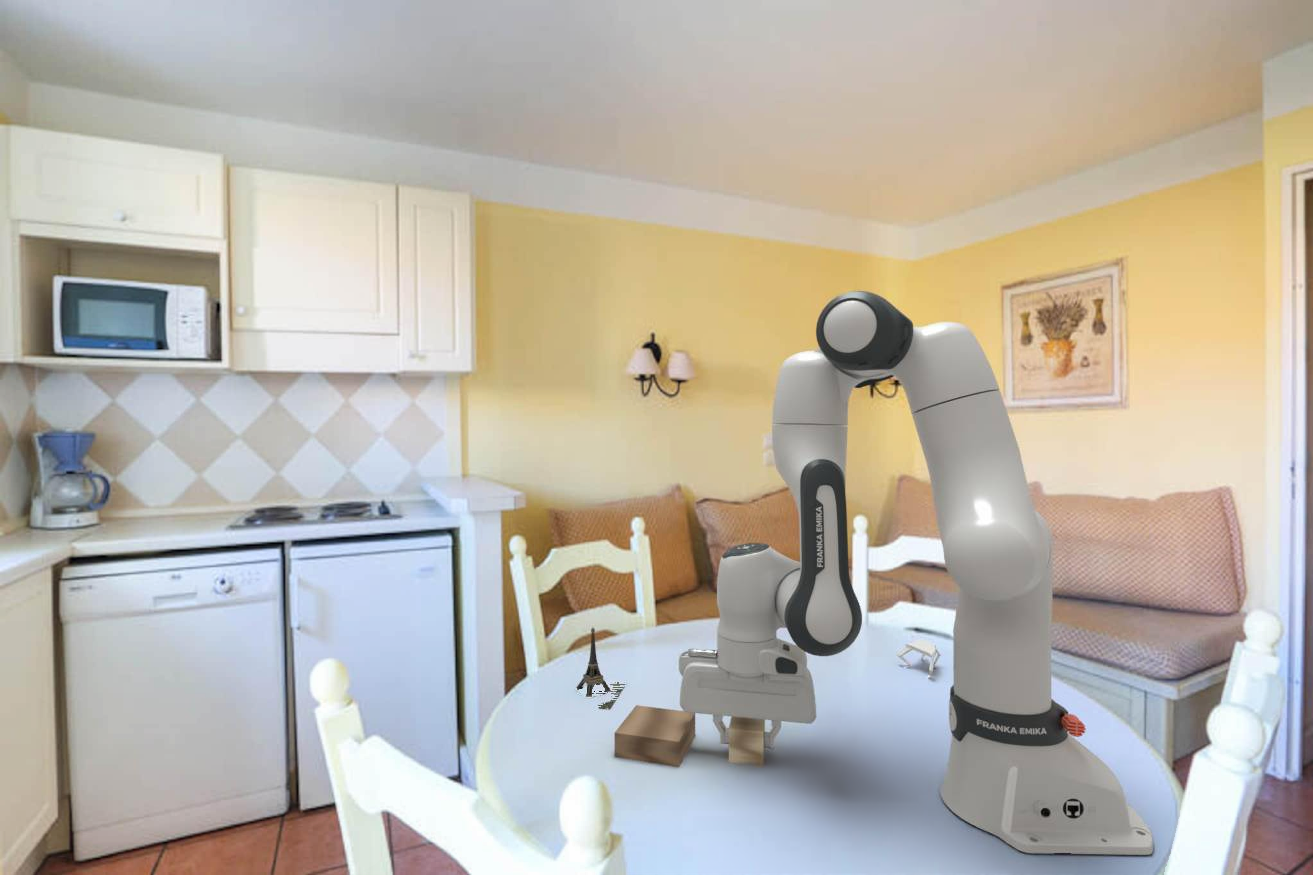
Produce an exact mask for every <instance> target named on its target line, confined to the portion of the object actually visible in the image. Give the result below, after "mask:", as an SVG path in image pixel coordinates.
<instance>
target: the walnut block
mask: <svg viewBox="0 0 1313 875" xmlns="http://www.w3.org/2000/svg"><path fill="white" fill-rule="evenodd" d="M695 737H696V713H689V712H685V711H684V710H677V709H670V708H661V707H654V706H646V705H639V704H638V705H637V704H636V705H635V706H634V707H633V709H632V710H631V711H630V713H629V714H628V715H627V716H626V717H625V719H624V720H623V721H622V722H621V724H620V725H619V726H618V728H617V729H616V731H615V732H614V758H619V759H626V760H629V761H630V760H632V761H638V762H643V763H644V762H646V763H650V764H651V763H652V764H655V765H656V764H657V765H662V766H669V767H676V768H680V767H681V764H682V763H683V761H684V758H685V756H686V755H687V753H688V751H689V748H690V747H691V745H692V743H693V741H694V739H695Z"/></svg>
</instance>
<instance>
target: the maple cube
mask: <svg viewBox="0 0 1313 875" xmlns="http://www.w3.org/2000/svg"><path fill="white" fill-rule="evenodd" d="M728 728H729V744H728V763H731V764H740V765H741V764H742V765H749V766H750V765H751V766H758V767H764V766H765V765H764V763H765V752H766V748H764V732H766V720H764V719H753V718H742V717H732V716H730V722H729V725H728Z"/></svg>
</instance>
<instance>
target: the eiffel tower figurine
mask: <svg viewBox="0 0 1313 875" xmlns="http://www.w3.org/2000/svg"><path fill="white" fill-rule="evenodd" d="M595 631H596V628H594V627H592V628H591V629H590V632H591V637H590V638H591V639H590V650H589V651H590V652H589V661H588V662H587V664H588V665H587V668H586V672H585V673H584V674H583V675H582V677H583V678H581V680H580V681H579V683H578V685H577V686H576V687H575V688H577V690H579V689H582V687H584V685H585V684H586V686H587V694H586V697H592V694H594V693H592V689H593V687H594V685H595V684H596V685H600V684H602V685H603V687H604V688H605V691H604V692H607V693H608V692H616V693H611V694H614V695H618V696H615V697H618V698H619V697H620V695H621V693H622V691H623V690H624V689H625V687H613V688H624V689H612V690H617V691H611V690H610V688H609V687H608V685H607V684H606V682H605V680H604V675H603V674H601V671H600V666H599V662H598V660H597V648H596V639H595ZM615 683H616V682H615ZM610 685H613V686H620V685H625V684H619V682H617V684H610ZM594 692H595V691H594ZM599 692H602V691H599ZM596 694H603V695H606V693H596ZM586 697H585V698H586ZM592 698H593V697H592ZM618 698H612V699H617V700H618ZM612 699H611V700H609V701H610V702H609V701H606V702H603V703H601V704H603V705H599V704H597V705H598V710H610V709H611V708H612V706H613V705H614V704H615V702H616V701H617V700H612ZM604 703H605V704H604ZM599 706H601V707H599Z"/></svg>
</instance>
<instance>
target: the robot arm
mask: <svg viewBox="0 0 1313 875" xmlns="http://www.w3.org/2000/svg"><path fill="white" fill-rule="evenodd" d="M815 337H816V343H817V345H818V347H819V348H817V349H814V350H807V351H806V350H805V351H800V352H798V353H795V354H792V355H791V356H789V357H787V358H786V359H785V360H784V361H783V362H782V364H781V366H780V369H779V371H778V372H779V373H778V376H777V380H776V386H775V391H774V399H773V408H772V419H771V420H772V421H771V422H772V423H771V424H772V425H771V442H772V443H771V444H772V451H773V459H774V464H775V468H776V471H777V472H778V474H779V475H780V476H781V478H782V479H783V481H784V482H785V484H786V486H787V487H788V489H789V491H790V493H791V496H793V500H794V502H795V505H796V509H797V513H798V519H799V520H798V522H799V524H798V525H799V526H798V527H799V529H798V530H799V532H798V533H799V561H798V560H795V559H793V558H790V557H788V556H786V555H783V554H782V553H780V552H779V551H777V550H775V549H774V548H773V547H772V546H770V544H768V543H763V542H748V543H742V544H739V545H735V546H732V547H730V548H728V549H726V551H725V552H724V553H723V554H722V555H721V557H720V560H719V564H718V571H717V583H716V584H717V585H716V605H717V609H718V613H719V622H718V625H717V629H716V631H717V633H716V641H717V642H716V643H717V646H716V648H717V649H697V648H689V649H687V650H686V651H684V652H682V653H681V654H680V655H679V658H678V671H679V675H681V684H680V691H679V692H680V693H679V706H680V708H681V709H682V711H685V712H689V713H695V714H699V715H701V714H703V715H709V716H710V715H712V722H713V724H714V726H715V727H716V729H717V732H718V733H720V734H719V735H720V738H719V740H720V742H719V743H720V744H721V745H729V727H727V726H726V725H725V723H724V721H723V718H724V717H731V716H732V717H742V718H753V719H764V720H765V721H766V720H767V721H771V727H772V728H771V729H770V731H765V732H764V748H765V749H770V750H774V748H775V738H776V737H777V735H778V733H779V732H780V730H781V728H782V722H787V723H796V724H797V723H798V724H799V723H800V724H807V725H808V724H809V725H810V724H812V723H813V722H815V720H816V718H817V704H816V703H817V702H816V693H815V685H814V682H813V677H812V673H811V671H810V669H809V668H808V657H807V654H809V655H812V656H817V657H832V656H834V655H838V654H840V653H842V652H843V651H845V650H847V649H848V648H849V647H851V645H852V644H854V642H855V641H856V640H857V637H858V636H859V635H860V632H861V629H862V624H863V612H862V608H861V605H860V602H859V600H858V597H857V596H856V595H857V594H856V593H855V591H854V588H853V585H852V582H851V579H850V578H851V577H850V570H849V568H850V566H849V544H848V542H849V540H848V513H847V511H848V510H847V496H846V489H847V488H846V485H847V484H846V483H847V479H846V478H847V477H846V476H847V474H846V473H847V472H846V471H847V470H846V468H847V467H846V466H847V451H848V449H847V448H848V426H849V424H848V423H849V422H848V421H849V420H848V418H849V413H848V412H849V401H850V397H851V395H852V394H851V393H852V391H853V390H854V389H860V388H861V389H862V388H864V387H868V386H870V385H873V384H877V383H880V382H885V381H887V380H889V379H891V378H896V380H898V382H899V383H900V385H901V387H902V389H903V391H904V392H905V396H906V400H907V402H908V405H909V410H910V412H911V416H912V419H913V422H914V426H915V429H916V432H917V435H918V440H919V442H920V445H921V449H922V452H923V455H924V459H925V462H926V466H927V471H928V474H929V480H930V486H931V492H932V498H933V504H934V505H933V506H934V510H935V515H936V520H937V526H938V531H939V536H940V540H941V544H942V549H943V558H944V559H943V560H944V564H945V568H946V570H947V572H948V574H949V576H950V578H951V579H952V580H953V582H954V583H955V585H957V586H958V589H957V600H956V606H955V608H956V609H955V616H954V622H953V629H952V633H953V636H952V637H953V639H952V640H953V642H952V643H953V646H952V648H953V649H952V650H953V652H952V653H953V654H952V655H953V662H952V663H953V684H952V686H951V687H950V689H949V700H948V725H949V729H950V732H951V742H950V747H949V748H950V750H949V757H948V762H947V767H946V771H945V773H944V774H945V775H944V777H943V778H944V779H943V781H942V783H941V785H940V786H941V787H940V789H939V790H940V797H941V799H942V800H943V802H944V804H945V806H947V808H948V809H949V810H951V811H952V813H954V814H955V815H956V816H958V817H959V818H961V819H962V820H964V821H966V822H967V823H969V824H971V825H972V826H975V827H976V828H979V829H981V830H983V831H985V832H988V833H990V834H992V835H994V836H996V837H998V838H1000V839H1001V840H1003V841H1004V842H1006V843H1007V844H1008V845H1010V846H1012V847H1013V848H1014V849H1016V850H1018V851H1019V852H1020V851H1021V852H1023V853H1027V854H1054V853H1071V854H1070V855H1076V854H1077V855H1128V856H1129V855H1131V856H1132V855H1133V856H1134V855H1135V856H1136V855H1138V856H1142V855H1143V856H1144V855H1145V856H1146V855H1147V856H1149V855H1151V854H1153V851H1154V840H1153V835H1152V833H1151V831H1150V828H1149V827H1148V825H1147V824H1146V822H1145V821H1144V819H1143V818H1142V817H1141V816H1140V814H1138V812H1137V811H1136V810H1135V809H1134V808H1133V807H1132V806H1131V805H1129V803H1127V800H1126V796H1125V792H1124V789H1123V787H1122V785H1121V782H1120V781H1119V779H1118V777H1117V776H1116V774H1115V773H1114V772H1113V771H1112V769H1111V768H1110V767H1109V766H1108V765H1107V764H1106V763H1105V762H1104V761H1103V760H1102V759H1101V758H1100V757H1099V756H1097V755H1096V754H1095V753H1094V752H1092V751H1091V750H1090V749H1088V748H1087V747H1086V746H1085V745H1084V744H1083V743H1081V742H1080V741H1079V740H1077V739H1076V738H1077V737H1078V738H1079V737H1082V736H1083V734H1085V733H1086V730H1087V729H1086V725H1085V724H1084V723H1083V721H1081V720H1080V719H1079V718H1078V717H1077V716H1076V715H1075V714H1071V713H1069V711H1068V710H1067V709H1066V708H1065V707H1064V706H1063V705H1061V704H1059V703H1057V702H1056V701H1055V700H1053V698H1052V630H1053V629H1052V628H1053V627H1052V626H1053V625H1052V624H1053V623H1052V622H1053V588H1054V587H1053V585H1054V584H1053V582H1054V580H1053V579H1054V538H1053V534H1052V530H1051V527H1050V525H1049V523H1048V522H1047V521H1046V519H1045V518H1044V517H1043V516H1042V514H1040V513H1039V512H1038V511H1037V510H1036V509H1035V506H1034V502H1033V500H1032V496H1031V491H1030V488H1029V484H1028V481H1027V476H1026V472H1025V469H1024V468H1025V467H1024V464H1023V461H1022V456H1021V451H1020V446H1019V444H1018V441H1017V438H1016V435H1015V432H1014V429H1013V425H1012V423H1011V419H1010V417H1009V414H1008V410H1007V408H1006V405H1005V402H1004V398H1003V396H1002V392H1001V389H1000V387H999V384H998V381H997V378H996V375H995V373H994V371H993V368H992V366H991V364H990V362H989V359H988V358H987V355H986V353H985V352H984V350H983V348H982V346H981V345H980V343H979V341H978V339H977V338H976V336H975V334H974V333H973V331H972V330H971V329H970V328H969V327H968V326H966V325H965V324H963V323H959V322H954V321H940V322H935V323H931V324H926V325H924V326H914V323H913V322H912V320H911V319H910V318H908V317H907V316H906V315H905V314H904V313H902V312H901V311H900V310H899V309H898V308H897V307H896V306H894V305H893V304H892V303H891V302H890V301H889V300H887V299H886V298H885V297H883V296H881V295H879V294H876V293H874V292H871V291H865V290H854V291H848V292H844V293H842V294H839V295H837V296H836V297H834V298H833V299H831V300H830V301H829V302H828V303H827V304H826V305H825V306H824V307H823V309H822V311H821V312H820V314H819V316H818V318H817V322H816V328H815ZM785 628H786V630H787V631H788V633H789V637H790V638H791V640H792V641H793V642H794V644H793V643H791V642H788V641H786V640H783V639H781V638H778V637H777V631H778V630H779V629H785ZM1075 737H1076V738H1075Z"/></svg>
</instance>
